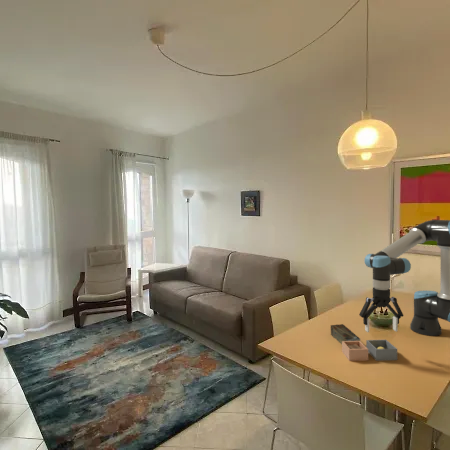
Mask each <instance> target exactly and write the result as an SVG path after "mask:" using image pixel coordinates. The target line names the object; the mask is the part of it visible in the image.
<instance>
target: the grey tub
mask: <svg viewBox="0 0 450 450" xmlns="http://www.w3.org/2000/svg"><path fill="white" fill-rule="evenodd" d="M365 342H366V343H365V344H366V345H365V346H366V347H367V348H368V355H370V356H371V357H372V358H373V359H374V360H375V362H377V361H378V362H379V361H382V362H384V361H398V348H397V347H396V346H394V345H393V344H392V343H391V342H390V341H389V340H387V339H367V340H365ZM378 347H383V348H384V349H377V348H378Z"/></svg>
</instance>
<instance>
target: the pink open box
mask: <svg viewBox="0 0 450 450" xmlns="http://www.w3.org/2000/svg"><path fill="white" fill-rule="evenodd" d="M354 344H356V345H357V346H359V347H361V348H362V349H350V348H349V347H348V345H354ZM341 352H342V354H343V355H344V356H345V358H346V359H347V360H348V361H349V362H352V361H354V362H355V361H356V362H358V361H361V362H363V361H369V353H368V348H367V347H366V345H365V344H363V342H362V341H361V340H360V341H342V344H341Z"/></svg>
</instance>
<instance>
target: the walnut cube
mask: <svg viewBox="0 0 450 450" xmlns="http://www.w3.org/2000/svg"><path fill="white" fill-rule="evenodd" d="M348 347H349V348H350V349H362V348H361V347H359V346H357V345H356V344H354V345H348Z"/></svg>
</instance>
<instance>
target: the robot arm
mask: <svg viewBox="0 0 450 450" xmlns="http://www.w3.org/2000/svg"><path fill="white" fill-rule="evenodd" d="M429 241H430V242H431V241H433V242H436V246H437V247H438V248H439V249H440V292H438V291H435V290H416V291H415V292H414V294H413V296H414V297H413V317H412V320H411V322H410V326H409V328H410V330H411V331H413V332H414V333H417V334H420V335H424V336H431V337H434V336H435V337H436V336H441V335H442V326H441V324H440V322H439V319H440V320H444V321H447V322H448V323H450V220H449V219H431V220H426V221H424V222H422V223H420V224H418V225H416V226H413V227H412V228H411V229H409V232H408V233H406V234H404V235H403V236H402V237H400V238H399V239H397V240H395V241H393V242H392V243H390V244H388V245H387V246H386V247H384V248H383V249H381V250H379V251H378V252H376V253H368V254H366V255H365V257H364V264H365V266H366V267H367V268H370V269H372V297H371V298H370V297H367V296H366V298H365V302H364V304H363V307H362V308H361V310H360V313H359V317H361V318H363V319H362V320H363V325H364V330H365V332H367V333H370V318H369V317H370V316H371V315H372V314H373V313H374V311H375V310H376V309H378V308H386V307H387V309H388V310H389V311H390V312H391V313H392V315H393V316H392V330H393V331H394V332H398V331H399V330H398V325H400V319H401V318H402V317H404V313H403V312H402V309H401V307H400V305H399V304H398V300H397V299H398V298H396V297H395V296H391V276H393V275H404V274H405V273H409V272H410V271H411V268H412V264H411V262H410V261H409V259H407V258H405V257H401V256H402V255H403V254H405V253H406V252H408V251H410V250H411V249H413V248H414V247H416V246H417V245H419V244H420V245H421V244H424V243H426V242H429ZM390 303H392V305H393V306H394V308H395V309H394V308H393V307H392V306H391V304H390Z"/></svg>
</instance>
